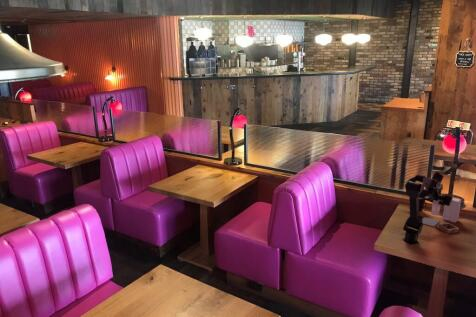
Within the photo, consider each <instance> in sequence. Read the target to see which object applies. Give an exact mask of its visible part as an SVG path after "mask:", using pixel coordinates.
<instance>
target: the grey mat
mask: <svg viewBox="0 0 476 317" xmlns="http://www.w3.org/2000/svg"><path fill="white" fill-rule="evenodd" d="M422 220H423V222H422V223H423V225H425V226H428V227H432V228H436V226H438V224H440V220H439V219H434V218H431V217H427V216H424V217H423V219H422Z"/></svg>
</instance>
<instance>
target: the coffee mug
mask: <svg viewBox="0 0 476 317" xmlns="http://www.w3.org/2000/svg"><path fill="white" fill-rule="evenodd" d="M426 207H427V202H426V200H424V199H420V198H419V213H421V212H423V209H424V208H426Z"/></svg>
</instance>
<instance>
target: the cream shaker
mask: <svg viewBox="0 0 476 317" xmlns="http://www.w3.org/2000/svg"><path fill="white" fill-rule="evenodd" d="M439 201H440V200H439ZM439 201H438V200H437V201H434V200H433V203H431V204H432V205H431V212H430V214H431V215H432V216H436V217H437V216H439V215H440V210H441V205H439Z"/></svg>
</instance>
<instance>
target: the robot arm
mask: <svg viewBox="0 0 476 317" xmlns="http://www.w3.org/2000/svg"><path fill="white" fill-rule="evenodd" d="M443 180H444V175H443V174H442V173H440V172H437V171H436V172H434V173H433V174H432V176H431V177H427V176H425V175H423V174H418V173H416V174H415V175H414V176H412V177H411V178H409V179H408V180H407V182H405V185H404V189H405V193H406V194H407V196H408V197H409V198H408V199H409V203H408V204H409V216H408V217H407V219H406V220H405V223H404V225H403V227H402V231H405V233H404V238H403V237H402V240H403V241H404V242H405V243H408V244H409V245H414V244H419V243H420V242H419V241H418V239H419V235H420V234H421V233H422V230H423V226H424V224H423V223H422V222H423V220H422V219H423V218H424V217H423V215H420V212H419V198H420V199H424V200H425V202H426V201H427V202H429V203H431V204H433V200H434V201H437V200H438V201H439V200H440V201H439V205H440V206H444V205H446V206H450V204H451V202H452V199H453V198H454V197H453V196H452V195H448V194H445V195H444V194H442V192H443V189H444V184H443V183H442V181H443ZM425 188H426V189H425Z"/></svg>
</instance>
